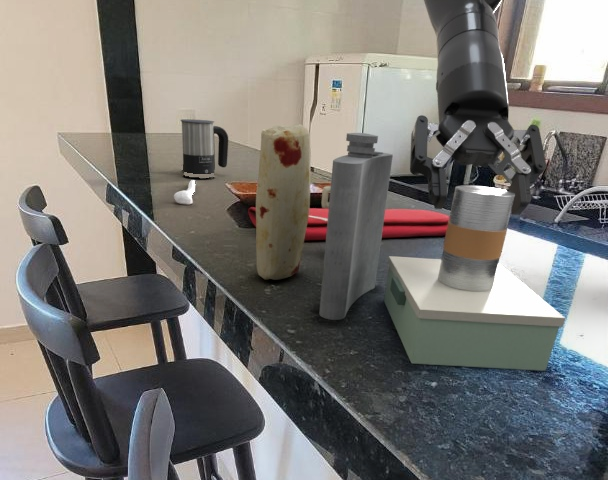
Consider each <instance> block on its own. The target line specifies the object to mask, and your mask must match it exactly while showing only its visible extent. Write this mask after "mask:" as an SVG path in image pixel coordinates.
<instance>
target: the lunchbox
mask: <svg viewBox="0 0 608 480" xmlns="http://www.w3.org/2000/svg"><path fill="white" fill-rule="evenodd" d="M441 259H442V258H427V257H426V258H424V257H409V256H394V255H391V256H390V255H388V257H387V265H388V270H387V277H386V283H385V284H386V285H385V290H384V297H383V302H384V304H385V307H386V309H387V312H388V314H389V316H390V317H391V318H390V319H391V321H392V323H393V326H394V327H395V330H396V331H397V334H398V337H399V339H400V341H401V343H402V345H403V348H404V350H405V353H406V355H407V357H408V360H409V361H410V363H411V364H413V365H428V366H429V365H430V366H447V367H468V368H487V369H502V370H503V369H504V370H520V371H523V370H524V371H540V372H546V371H547V367H548V364H549V362H550V358H551V355H552V352H553V349H554V346H555V342H556V339H557V336H558V333H559V331H560V328H563V327H564V324H565V321H566V317H565V316H564V315H562V313H560V312H559V311H558V310H556V309H555V308H554V307H553V306H552V305H550V304H549V303H548V302H546V301H545V300H544V298H542V297H541V296H540V295H538V294H537V293H536V292H535V291H534V290H532V288H530V287H529V286H527V285H526V283H524V282H522V281H521V280H520V279H519V278H518V277H516V276H515V275H514V274H513V273H512V272H511V271H509V269H507V268H506V267H504V266H503V264H501V263H500V262H499V263H498V267H497V271H496V275H495V279H494V284H493V287H492V289H490V290H488V291H480V292H475V291H465V290H459V289H455V288H451V287H449V286H446V285H444V284H442V283H441V282H439V280H438V275H439V270H440V264H441Z"/></svg>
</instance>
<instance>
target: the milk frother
mask: <svg viewBox="0 0 608 480" xmlns="http://www.w3.org/2000/svg"><path fill="white" fill-rule="evenodd" d="M180 123H181V139H182V140H181V143H182V165H183V170H182V172H183V171H184V172H187V173H193V174H211V173H215V170H216V156H215V152H216V151H215V135H217V138H218V147H217V148H218V149H217V150H218V151H217V153H218V154H217V164H218V167H221V168H226V167H227V166H228V156H229V155H228V154H229V135H228V133H227V131H226V130H225V129H224V128H223V127H221V126H218V125H214V123H215V121H213V120H208V119H207V120H206V119H192V118H191V119H190V118H189V119H182V118H181V119H180ZM182 175H183V174H182ZM183 176H185V175H183ZM183 176H182V177H183ZM186 177H189V176H185V177H184V178H186ZM191 178H199V177H190V178H189V179H191ZM209 178H211V179H214V178H213V177H209ZM199 180H207V179H206V178H200V179H199Z"/></svg>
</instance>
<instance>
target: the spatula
mask: <svg viewBox="0 0 608 480" xmlns="http://www.w3.org/2000/svg"><path fill="white" fill-rule="evenodd" d="M195 181H196V179H191V180H190V181H189V182H188V186H187V189H186V190H180V191H176V192H175V193H174V195H173V199H174V201H175V202H176V203H177V204H179V205H183V206H188V205H191V204H193V202H194V201H193V200H194V199H193V196H194V194H195V193H196V185H197V183H196V184H195ZM194 192H195V193H194ZM193 193H194V194H193ZM192 195H193V196H192Z"/></svg>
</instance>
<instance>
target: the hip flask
mask: <svg viewBox="0 0 608 480" xmlns="http://www.w3.org/2000/svg"><path fill="white" fill-rule="evenodd" d="M378 140H379V135H375V134H371V133H367V132H347V133H346V136H345V141H346V142H348V145H347V146H346V152H347V154H346V155H341V156H339V157H335V158H334V159H333V160H332V167H331V168H332V169H331V179H330V186H331V189H330V193H329V199H328V202H329V208H328V209H329V211H328V223H327V234H326V240H325V247H324V256H323V257H324V258H323V268H322V278H321V291H320V301H319V302H320V303H319V311H318V312H319V313H318V314H319V316H320V317H321V318H323V319H326V320H331V321H340V320H343V319H345V318H346V317H347V313H348V311H349V309H350V308H351V307H352V305H353V304H354V303H355V302H356V301H357V300H358V299H360V297H361V296H363V295H365V294H366V293H368V292H370V291H371V290H373V289H375V288H376V282H377V281H376V280H377V273H378V266H379V258H380V252H381V244H382V239H383V238H382V231H383V223H384V216H385V209H387V200H388V193H389V186H390V179H391V171H392V164H393V157H394V156H393V153H389V152H381V151H376V148H375V147H374V145H375V144H378Z"/></svg>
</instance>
